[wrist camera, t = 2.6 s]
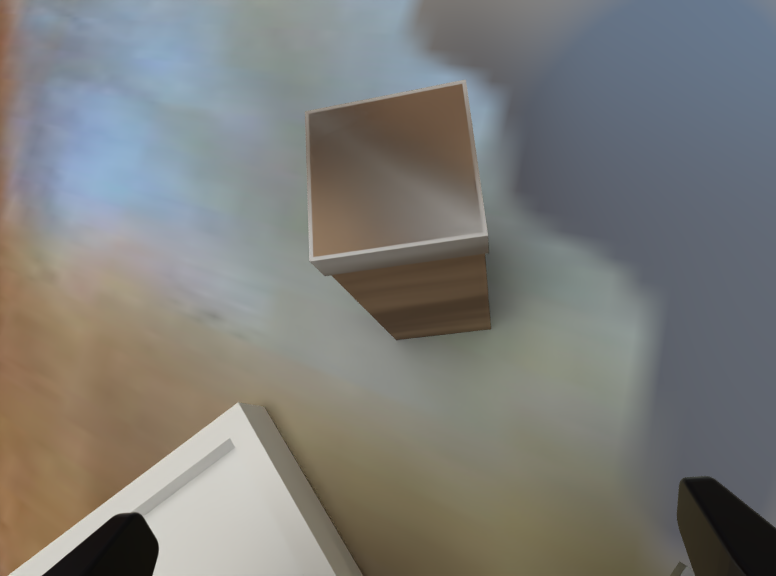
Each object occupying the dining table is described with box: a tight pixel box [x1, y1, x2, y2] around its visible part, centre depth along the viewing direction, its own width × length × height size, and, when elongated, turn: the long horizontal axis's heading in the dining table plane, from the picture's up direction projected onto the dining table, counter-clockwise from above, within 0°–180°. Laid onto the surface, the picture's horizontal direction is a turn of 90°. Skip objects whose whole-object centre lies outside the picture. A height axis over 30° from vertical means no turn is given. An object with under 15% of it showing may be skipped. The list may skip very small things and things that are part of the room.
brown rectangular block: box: [305, 80, 491, 340], centre depth 18 cm, size 4×4×11 cm
